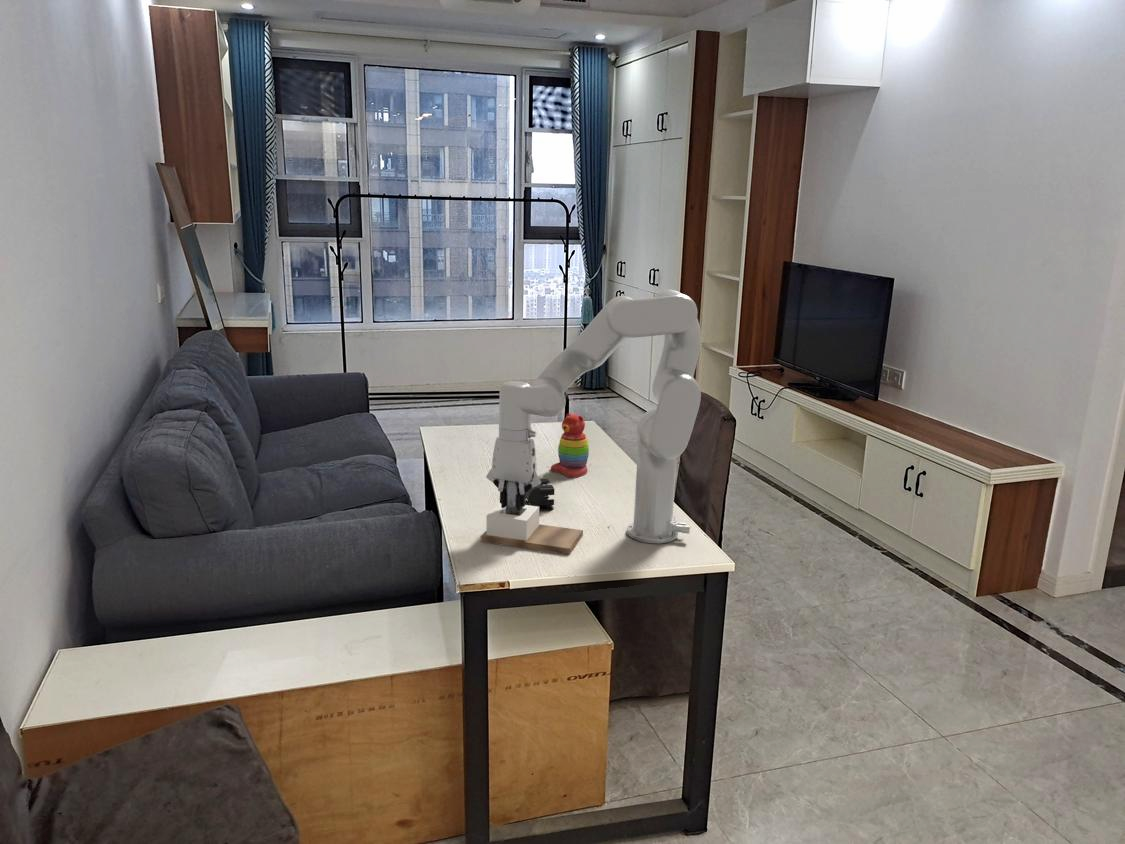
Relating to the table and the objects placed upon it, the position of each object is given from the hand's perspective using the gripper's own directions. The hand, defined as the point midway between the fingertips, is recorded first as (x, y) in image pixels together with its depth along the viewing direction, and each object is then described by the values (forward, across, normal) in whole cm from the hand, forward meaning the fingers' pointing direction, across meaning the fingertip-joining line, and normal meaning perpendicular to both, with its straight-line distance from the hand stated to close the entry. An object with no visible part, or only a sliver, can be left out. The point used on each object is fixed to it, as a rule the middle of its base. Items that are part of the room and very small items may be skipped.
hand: (512, 506), depth 200 cm
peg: (+3, 0, 0) cm, 3 cm away
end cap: (+8, +1, -23) cm, 24 cm away
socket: (+6, 0, 0) cm, 6 cm away
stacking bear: (+8, 0, -55) cm, 56 cm away
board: (+8, -5, 0) cm, 9 cm away
